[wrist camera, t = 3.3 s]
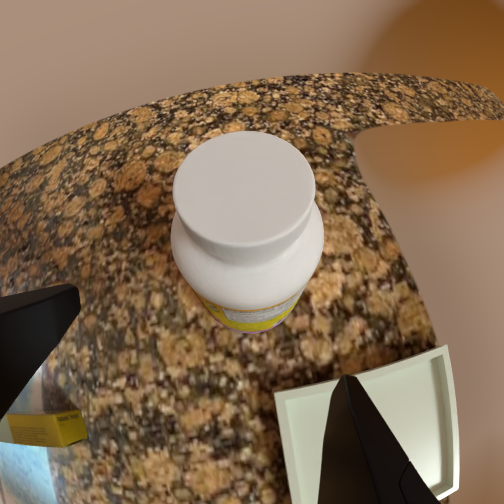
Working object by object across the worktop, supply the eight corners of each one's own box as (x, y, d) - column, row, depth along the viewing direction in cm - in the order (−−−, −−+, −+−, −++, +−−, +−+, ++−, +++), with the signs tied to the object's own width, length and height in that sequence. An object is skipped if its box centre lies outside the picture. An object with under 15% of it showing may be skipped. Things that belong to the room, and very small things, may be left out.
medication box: (3, 435, 15) (-24, 438, 11) (-4, 409, 16) (-31, 409, 12) (91, 439, 16) (64, 448, 13) (82, 407, 17) (53, 411, 14)
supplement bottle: (203, 250, 22) (155, 122, 10) (290, 243, 22) (320, 109, 11) (206, 338, 20) (135, 285, 8) (302, 331, 20) (368, 266, 8)
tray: (297, 540, 13) (300, 550, 11) (272, 391, 18) (274, 393, 17) (448, 484, 14) (458, 488, 12) (436, 347, 19) (447, 344, 17)
